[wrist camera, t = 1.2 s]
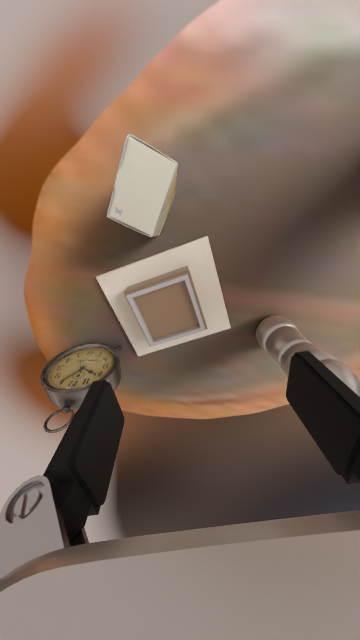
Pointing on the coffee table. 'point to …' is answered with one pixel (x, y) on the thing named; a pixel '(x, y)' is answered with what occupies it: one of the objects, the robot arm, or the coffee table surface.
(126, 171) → the skincare box
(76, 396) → the alarm clock
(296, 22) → the coffee table surface
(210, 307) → the display base
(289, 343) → the plastic bottle
